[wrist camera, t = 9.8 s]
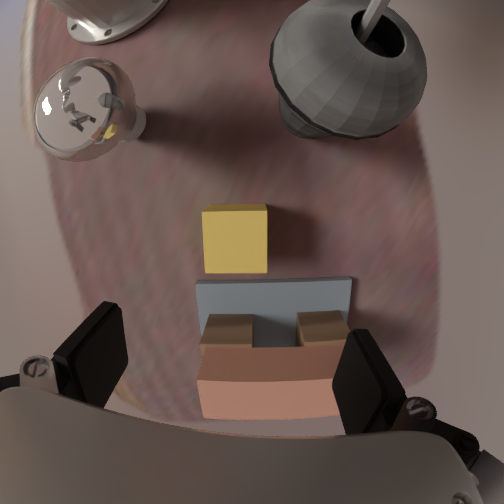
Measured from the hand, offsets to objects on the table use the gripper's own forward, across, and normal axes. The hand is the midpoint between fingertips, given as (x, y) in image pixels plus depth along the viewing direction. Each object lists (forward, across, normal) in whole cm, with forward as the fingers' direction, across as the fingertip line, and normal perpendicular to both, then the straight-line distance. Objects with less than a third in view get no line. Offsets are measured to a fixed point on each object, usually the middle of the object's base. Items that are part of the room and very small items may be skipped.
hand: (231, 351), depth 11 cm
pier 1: (+14, 0, +8) cm, 16 cm away
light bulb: (+15, +11, -10) cm, 21 cm away
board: (+14, -4, +8) cm, 17 cm away
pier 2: (+14, -8, +7) cm, 17 cm away
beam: (+9, -4, +8) cm, 12 cm away
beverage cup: (+15, -4, -12) cm, 20 cm away
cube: (+15, +1, -2) cm, 15 cm away
